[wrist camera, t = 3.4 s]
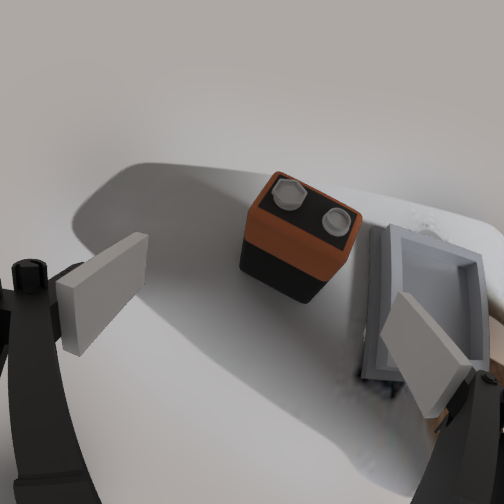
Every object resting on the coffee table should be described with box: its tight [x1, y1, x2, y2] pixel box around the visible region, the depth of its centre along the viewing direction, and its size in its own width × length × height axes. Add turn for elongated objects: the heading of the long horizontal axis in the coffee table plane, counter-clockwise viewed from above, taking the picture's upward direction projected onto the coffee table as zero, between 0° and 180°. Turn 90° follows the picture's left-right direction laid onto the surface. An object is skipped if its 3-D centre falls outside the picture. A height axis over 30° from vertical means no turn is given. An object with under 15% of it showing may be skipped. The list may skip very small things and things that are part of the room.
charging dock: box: [361, 224, 490, 382], centre depth 25 cm, size 15×15×3 cm
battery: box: [239, 172, 362, 304], centre depth 22 cm, size 4×7×10 cm, turn 62°
